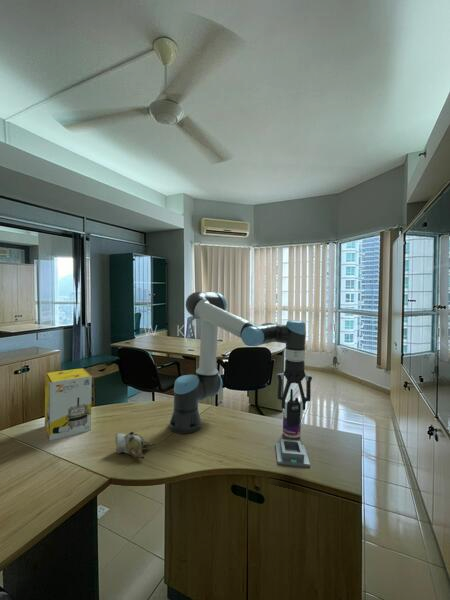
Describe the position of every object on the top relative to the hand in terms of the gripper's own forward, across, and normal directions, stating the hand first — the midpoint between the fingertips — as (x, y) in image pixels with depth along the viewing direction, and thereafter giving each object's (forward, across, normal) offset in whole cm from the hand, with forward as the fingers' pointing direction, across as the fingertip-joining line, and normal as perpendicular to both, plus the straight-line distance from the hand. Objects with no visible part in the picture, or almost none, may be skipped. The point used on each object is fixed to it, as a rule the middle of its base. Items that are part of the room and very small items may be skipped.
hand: (293, 416), depth 114 cm
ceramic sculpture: (+16, -63, -8) cm, 66 cm away
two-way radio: (+4, 0, 0) cm, 4 cm away
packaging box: (+16, -101, +6) cm, 102 cm away
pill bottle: (+16, +2, +17) cm, 23 cm away
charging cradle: (+16, 0, 0) cm, 16 cm away
